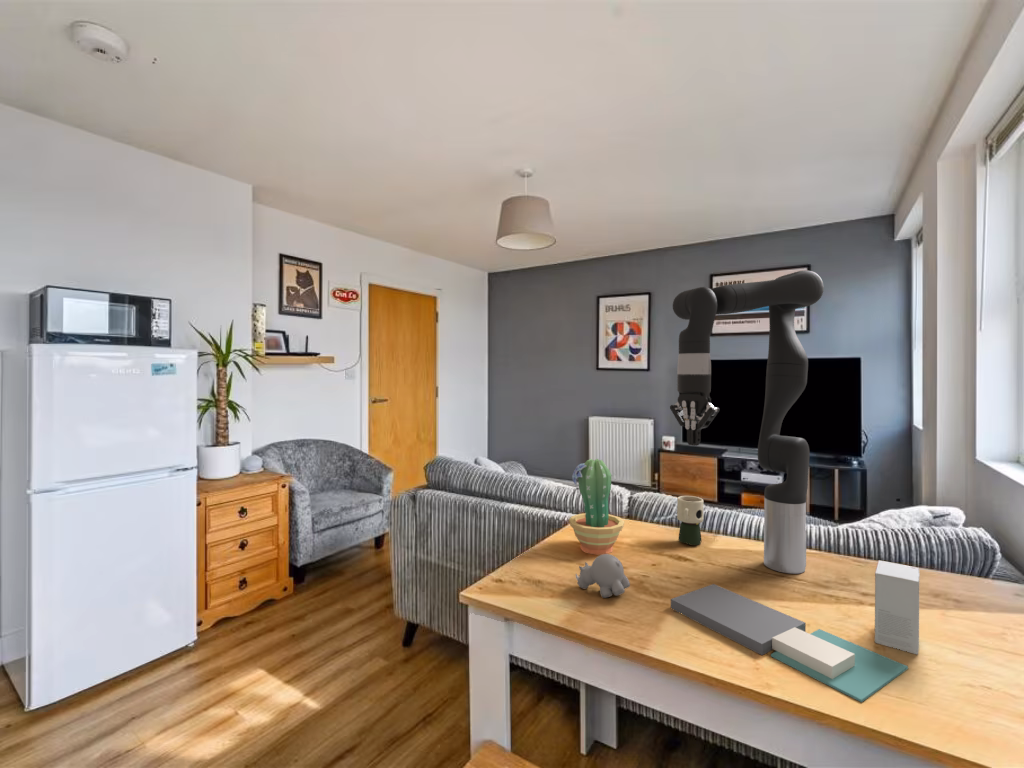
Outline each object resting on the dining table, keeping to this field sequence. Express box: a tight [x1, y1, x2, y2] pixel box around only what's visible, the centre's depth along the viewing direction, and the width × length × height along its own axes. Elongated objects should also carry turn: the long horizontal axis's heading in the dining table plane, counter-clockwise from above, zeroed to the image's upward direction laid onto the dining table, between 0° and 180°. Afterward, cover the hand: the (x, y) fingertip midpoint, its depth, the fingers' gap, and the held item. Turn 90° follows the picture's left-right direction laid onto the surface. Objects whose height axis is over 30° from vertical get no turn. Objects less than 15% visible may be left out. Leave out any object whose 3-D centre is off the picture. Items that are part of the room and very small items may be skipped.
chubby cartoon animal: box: [575, 553, 631, 599], centre depth 111 cm, size 7×12×8 cm, turn 55°
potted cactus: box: [568, 458, 625, 556], centre depth 138 cm, size 15×15×25 cm
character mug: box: [676, 495, 704, 546], centre depth 142 cm, size 11×7×13 cm, turn 147°
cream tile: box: [772, 627, 855, 679], centre depth 85 cm, size 7×10×2 cm
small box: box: [874, 559, 921, 655], centre depth 91 cm, size 8×6×13 cm
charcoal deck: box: [670, 583, 807, 656], centre depth 98 cm, size 14×20×2 cm
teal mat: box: [770, 628, 909, 703], centre depth 84 cm, size 16×14×1 cm
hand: (693, 445), depth 118 cm, fingers closed
